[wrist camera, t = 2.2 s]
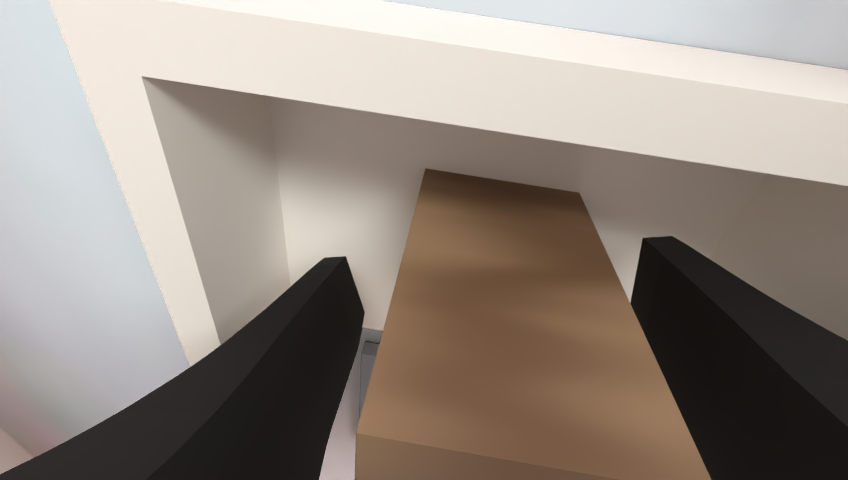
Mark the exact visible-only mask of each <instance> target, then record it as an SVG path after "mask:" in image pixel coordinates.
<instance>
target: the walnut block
mask: <svg viewBox="0 0 848 480" xmlns="http://www.w3.org/2000/svg"><path fill="white" fill-rule="evenodd" d="M355 480H711V478H710V476H709V473H708V471H707V469H706V467H705V465H704V463H703V460H702V458H701V456H700V454H699V452H698V450H697V447H696V445H695V443H694V441H693V439H692V436H691V434H690V432H689V430H688V428H687V426H686V423H685V421H684V419H683V417H682V415H681V413H680V410H679V408H678V406H677V404H676V402H675V400H674V397H673V395H672V393H671V391H670V389H669V386H668V384H667V382H666V380H665V378H664V376H663V373H662V371H661V369H660V367H659V365H658V363H657V360H656V358H655V356H654V354H653V352H652V350H651V347H650V345H649V343H648V341H647V339H646V336H645V334H644V332H643V330H642V328H641V326H640V323H639V321H638V319H637V317H636V315H635V313H634V310H633V308H632V306H631V304H630V302H629V300H628V297H627V295H626V293H625V291H624V289H623V286H622V284H621V282H620V280H619V278H618V276H617V273H616V271H615V269H614V267H613V265H612V263H611V260H610V258H609V256H608V254H607V252H606V250H605V247H604V245H603V243H602V241H601V239H600V236H599V234H598V232H597V230H596V228H595V226H594V223H593V221H592V219H591V217H590V215H589V213H588V210H587V208H586V206H585V204H584V202H583V200H582V197H581V195H580V193H578V192H572V191H565V190H559V189H553V188H547V187H540V186H534V185H528V184H521V183H515V182H509V181H502V180H496V179H490V178H483V177H477V176H471V175H465V174H458V173H452V172H446V171H439V170H433V169H427V168H425V172H424V176H423V179H422V183H421V187H420V191H419V195H418V199H417V202H416V206H415V210H414V214H413V218H412V222H411V225H410V229H409V233H408V237H407V241H406V244H405V248H404V252H403V256H402V260H401V264H400V267H399V271H398V275H397V279H396V283H395V286H394V290H393V294H392V298H391V302H390V306H389V309H388V313H387V317H386V321H385V325H384V328H383V332H382V336H381V340H380V344H379V348H378V351H377V355H376V359H375V363H374V367H373V371H372V374H371V378H370V382H369V386H368V390H367V393H366V397H365V401H364V405H363V409H362V413H361V416H360V420H359V424H358V428H357V432H356V454H355Z"/></svg>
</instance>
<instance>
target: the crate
mask: <svg viewBox="0 0 848 480" xmlns="http://www.w3.org/2000/svg"><path fill="white" fill-rule="evenodd" d="M49 3H50V5H51V8H52V10H53V13H54V16H55V18H56V21H57V23H58V26H59V28H60V31H61V34H62V36H63V39H64V41H65V44H66V47H67V49H68V52H69V54H70V57H71V60H72V62H73V65H74V67H75V70H76V73H77V75H78V78H79V80H80V83H81V86H82V88H83V91H84V93H85V96H86V98H87V101H88V104H89V106H90V109H91V111H92V114H93V117H94V119H95V122H96V124H97V127H98V130H99V132H100V135H101V137H102V140H103V143H104V145H105V148H106V150H107V153H108V155H109V158H110V161H111V163H112V166H113V168H114V171H115V174H116V176H117V179H118V181H119V184H120V187H121V189H122V192H123V194H124V197H125V200H126V202H127V205H128V207H129V210H130V213H131V215H132V218H133V220H134V223H135V225H136V228H137V231H138V233H139V236H140V238H141V241H142V244H143V246H144V249H145V251H146V254H147V257H148V259H149V262H150V264H151V267H152V270H153V272H154V275H155V277H156V280H157V282H158V285H159V288H160V290H161V293H162V295H163V298H164V301H165V303H166V306H167V308H168V311H169V314H170V316H171V319H172V321H173V324H174V327H175V329H176V332H177V334H178V337H179V340H180V342H181V345H182V347H183V350H184V352H185V355H186V358H187V360H188V363H189V365H190V367H191V366H192V365H194V364H195V363H197V362H198V361H200V360H201V359H202V358H204V357H205V356H207V355H208V354H209V353H211V352H212V351H214V350H215V349H216V348H218V347H219V346H220V345H222V344H223V343H224V342H225V341H227V340H228V339H229V338H231V337H232V336H233V335H234V334H235V333H237V332H238V331H239V330H240V329H242V328H243V327H244V326H245V325H246V324H248V323H249V322H250V321H251V320H253V319H254V318H255V317H256V316H257V315H259V314H260V313H261V312H262V311H263V310H265V309H266V308H267V307H268V306H269V305H270V304H271V303H273V302H274V301H275V300H276V299H277V298H278V297H279V296H281V295H282V294H283V293H284V292H285V291H286V290H287V289H288V288H290V287H291V286H292V285H293V284H294V283H295V282H296V281H297V280H299V279H300V278H301V277H302V276H303V275H304V274H305V273H306V272H308V271H309V270H310V269H311V268H312V267H313V266H314V265H316V264H317V263H318V262H319V261H321V260H322V259H323V258H325V257H342V256H346V258H347V261H348V264H349V267H350V270H351V273H352V276H353V279H354V282H355V285H356V287H357V290H358V293H359V296H360V299H361V302H362V305H363V308H364V311H365V314H364V320H363V326H362V328H368V329H374V330H380V331H383V328H384V325H385V321H386V317H387V313H388V309H389V306H390V302H391V298H392V294H393V290H394V286H395V283H396V279H397V275H398V271H399V267H400V264H401V260H402V256H403V252H404V248H405V244H406V241H407V237H408V233H409V229H410V225H411V222H412V218H413V214H414V210H415V206H416V202H417V199H418V195H419V191H420V187H421V183H422V179H423V176H424V172H425V168H427V169H433V170H439V171H446V172H452V173H458V174H465V175H471V176H477V177H483V178H490V179H496V180H502V181H509V182H515V183H521V184H528V185H534V186H540V187H547V188H553V189H559V190H565V191H572V192H578V193H580V195H581V197H582V200H583V202H584V204H585V206H586V208H587V210H588V213H589V215H590V217H591V219H592V221H593V223H594V226H595V228H596V230H597V232H598V234H599V236H600V239H601V241H602V243H603V245H604V247H605V250H606V252H607V254H608V256H609V258H610V260H611V263H612V265H613V267H614V269H615V271H616V273H617V276H618V278H619V280H620V282H621V284H622V286H623V289H624V291H625V293H626V295H627V297H628V300H629V302H631V297H632V291H633V286H634V281H635V276H636V270H637V265H638V260H639V255H640V249H641V244H642V239H643V238H647V237H663V236H673V237H675V238H677V239H678V240H680V241H682V242H683V243H685V244H687V245H688V246H690V247H691V248H693V249H695V250H696V251H698V252H699V253H701V254H702V255H704V256H706V257H707V258H709V259H710V260H712V261H713V262H715V263H717V264H718V265H720V266H721V267H723V268H724V269H726V270H727V271H729V272H731V273H732V274H734V275H735V276H737V277H739V278H740V279H742V280H743V281H745V282H747V283H748V284H750V285H751V286H753V287H755V288H756V289H758V290H759V291H761V292H763V293H764V294H766V295H768V296H769V297H771V298H773V299H774V300H776V301H778V302H780V303H781V304H783V305H785V306H786V307H788V308H790V309H791V310H793V311H795V312H797V313H799V314H800V315H802V316H804V317H806V318H808V319H809V320H811V321H813V322H815V323H817V324H818V325H820V326H822V327H824V328H825V329H827V330H829V331H831V332H833V333H835V334H836V335H838V336H840V337H842V338H844V339H846V340H848V70H845V69H838V68H831V67H824V66H818V65H811V64H804V63H798V62H791V61H784V60H777V59H771V58H764V57H757V56H750V55H744V54H737V53H730V52H723V51H717V50H710V49H703V48H697V47H690V46H683V45H676V44H670V43H663V42H656V41H649V40H643V39H636V38H629V37H622V36H616V35H609V34H602V33H596V32H589V31H582V30H575V29H569V28H562V27H555V26H548V25H542V24H535V23H528V22H521V21H515V20H508V19H501V18H495V17H488V16H481V15H474V14H468V13H461V12H454V11H447V10H441V9H434V8H427V7H421V6H414V5H407V4H400V3H394V2H387V1H380V0H49Z"/></svg>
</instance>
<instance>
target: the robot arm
mask: <svg viewBox="0 0 848 480" xmlns="http://www.w3.org/2000/svg"><path fill="white" fill-rule="evenodd" d="M630 304H631V306H632V308H633V310H634V313H635V315H636V317H637V319H638V321H639V323H640V326H641V328H642V330H643V332H644V334H645V336H646V339H647V341H648V343H649V345H650V347H651V350H652V352H653V354H654V356H655V358H656V360H657V363H658V365H659V367H660V369H661V371H662V373H663V376H664V378H665V380H666V382H667V384H668V386H669V389H670V391H671V393H672V395H673V397H674V400H675V402H676V404H677V406H678V408H679V410H680V413H681V415H682V417H683V419H684V421H685V423H686V426H687V428H688V430H689V432H690V434H691V436H692V439H693V441H694V443H695V445H696V447H697V450H698V452H699V454H700V456H701V458H702V460H703V463H704V465H705V467H706V469H707V471H708V473H709V476H710V478H711V480H848V340H846V339H844V338H842V337H840V336H838V335H836V334H835V333H833V332H831V331H829V330H827V329H825V328H824V327H822V326H820V325H818V324H817V323H815V322H813V321H811V320H809V319H808V318H806V317H804V316H802V315H800V314H799V313H797V312H795V311H793V310H791V309H790V308H788V307H786V306H785V305H783V304H781V303H780V302H778V301H776V300H774V299H773V298H771V297H769V296H768V295H766V294H764V293H763V292H761V291H759V290H758V289H756V288H755V287H753V286H751V285H750V284H748V283H747V282H745V281H743V280H742V279H740V278H739V277H737V276H735V275H734V274H732V273H731V272H729V271H727V270H726V269H724V268H723V267H721V266H720V265H718V264H717V263H715V262H713V261H712V260H710V259H709V258H707V257H706V256H704V255H702V254H701V253H699V252H698V251H696V250H695V249H693V248H691V247H690V246H688V245H687V244H685V243H683V242H682V241H680V240H678V239H677V238H675V237H673V236H663V237H647V238H643V239H642V244H641V249H640V255H639V260H638V265H637V270H636V276H635V281H634V286H633V291H632V297H631V302H630ZM364 314H365V311H364V308H363V305H362V302H361V299H360V296H359V293H358V290H357V287H356V285H355V282H354V279H353V276H352V273H351V270H350V267H349V264H348V261H347V258H346V256H342V257H325V258H323V259H322V260H321V261H319V262H318V263H317V264H316V265H314V266H313V267H312V268H311V269H310V270H309V271H308V272H306V273H305V274H304V275H303V276H302V277H301V278H300V279H299V280H297V281H296V282H295V283H294V284H293V285H292V286H291V287H290V288H288V289H287V290H286V291H285V292H284V293H283V294H282V295H281V296H279V297H278V298H277V299H276V300H275V301H274V302H273V303H271V304H270V305H269V306H268V307H267V308H266V309H265V310H263V311H262V312H261V313H260V314H259V315H257V316H256V317H255V318H254V319H253V320H251V321H250V322H249V323H248V324H246V325H245V326H244V327H243V328H242V329H240V330H239V331H238V332H237V333H235V334H234V335H233V336H232V337H231V338H229V339H228V340H227V341H225V342H224V343H223V344H222V345H220V346H219V347H218V348H216V349H215V350H214V351H212V352H211V353H209V354H208V355H207V356H205V357H204V358H202V359H201V360H200V361H198V362H197V363H195V364H194V365H192V366H191V367H190V368H188V369H187V370H185V371H184V372H182V373H181V374H179V375H178V376H176V377H175V378H173V379H172V380H170V381H169V382H167V383H165V384H164V385H162V386H161V387H159V388H157V389H156V390H154V391H153V392H151V393H149V394H148V395H146V396H145V397H143V398H141V399H140V400H138V401H137V402H135V403H133V404H132V405H130V406H129V407H127V408H125V409H124V410H122V411H120V412H118V413H117V414H115V415H113V416H111V417H110V418H108V419H106V420H104V421H103V422H101V423H99V424H97V425H96V426H94V427H92V428H90V429H88V430H86V431H85V432H83V433H81V434H79V435H77V436H75V437H73V438H72V439H70V440H68V441H66V442H64V443H62V444H60V445H58V446H57V447H55V448H53V449H51V450H49V451H47V452H45V453H43V454H41V455H39V456H37V457H35V458H33V459H31V460H29V461H27V462H25V463H23V464H21V465H19V466H17V467H14V468H12V469H11V470H9V471H6V472H4V473H3V474H1V475H0V480H319V476H320V472H321V467H322V463H323V459H324V454H325V450H326V446H327V442H328V439H329V435H330V432H331V428H332V425H333V422H334V419H335V416H336V413H337V410H338V407H339V404H340V401H341V398H342V395H343V392H344V389H345V386H346V383H347V380H348V377H349V374H350V371H351V368H352V365H353V362H354V359H355V356H356V353H357V349H358V346H359V341H360V336H361V332H362V326H363V320H364Z"/></svg>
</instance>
